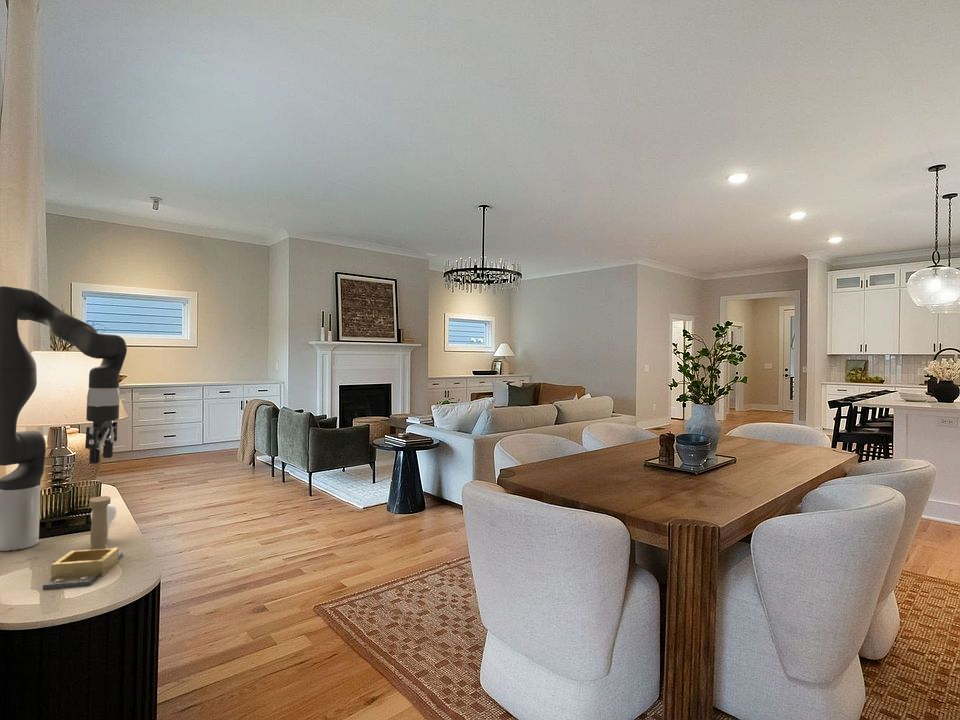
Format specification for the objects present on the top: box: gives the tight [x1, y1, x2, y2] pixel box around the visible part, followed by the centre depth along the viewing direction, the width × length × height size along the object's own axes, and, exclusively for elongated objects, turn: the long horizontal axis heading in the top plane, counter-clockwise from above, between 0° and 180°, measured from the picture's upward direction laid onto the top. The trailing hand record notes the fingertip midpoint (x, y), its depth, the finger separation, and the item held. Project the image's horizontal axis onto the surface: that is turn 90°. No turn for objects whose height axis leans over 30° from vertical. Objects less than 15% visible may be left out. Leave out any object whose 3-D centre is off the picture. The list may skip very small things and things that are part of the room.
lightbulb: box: [90, 503, 117, 539], centre depth 155 cm, size 6×6×11 cm
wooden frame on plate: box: [42, 547, 124, 590], centre depth 132 cm, size 11×20×4 cm, turn 16°
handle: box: [88, 495, 112, 549], centre depth 146 cm, size 5×6×15 cm
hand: (101, 460), depth 146 cm, fingers open, 8 cm apart
